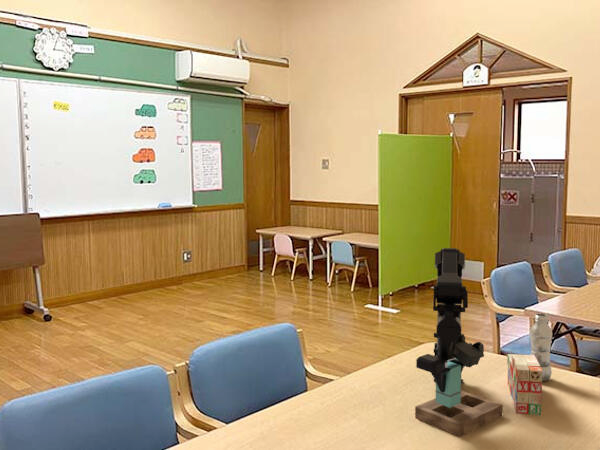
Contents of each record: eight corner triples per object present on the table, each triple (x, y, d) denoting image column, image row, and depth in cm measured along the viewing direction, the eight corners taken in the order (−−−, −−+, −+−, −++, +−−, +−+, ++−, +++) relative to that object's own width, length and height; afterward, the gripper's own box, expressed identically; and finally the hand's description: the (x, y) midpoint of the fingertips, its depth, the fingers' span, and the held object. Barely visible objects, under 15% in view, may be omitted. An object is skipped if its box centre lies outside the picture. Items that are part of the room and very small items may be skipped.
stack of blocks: (506, 383, 175) (507, 343, 174) (529, 385, 173) (530, 344, 172) (516, 413, 154) (517, 368, 153) (541, 415, 153) (542, 370, 151)
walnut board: (415, 417, 152) (415, 406, 152) (457, 399, 164) (457, 389, 163) (460, 436, 142) (460, 424, 141) (502, 415, 153) (502, 404, 152)
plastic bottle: (553, 378, 178) (555, 313, 176) (549, 385, 173) (551, 319, 171) (530, 374, 182) (532, 311, 180) (526, 381, 176) (527, 316, 174)
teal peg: (435, 402, 150) (435, 364, 149) (446, 397, 153) (446, 360, 151) (449, 408, 146) (450, 369, 145) (460, 403, 149) (461, 365, 148)
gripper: (452, 345, 135) (451, 409, 137) (498, 329, 147) (497, 389, 148) (414, 334, 144) (414, 395, 146) (461, 320, 155) (460, 377, 157)
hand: (448, 389), depth 149 cm, fingers closed on teal peg, 4 cm apart
